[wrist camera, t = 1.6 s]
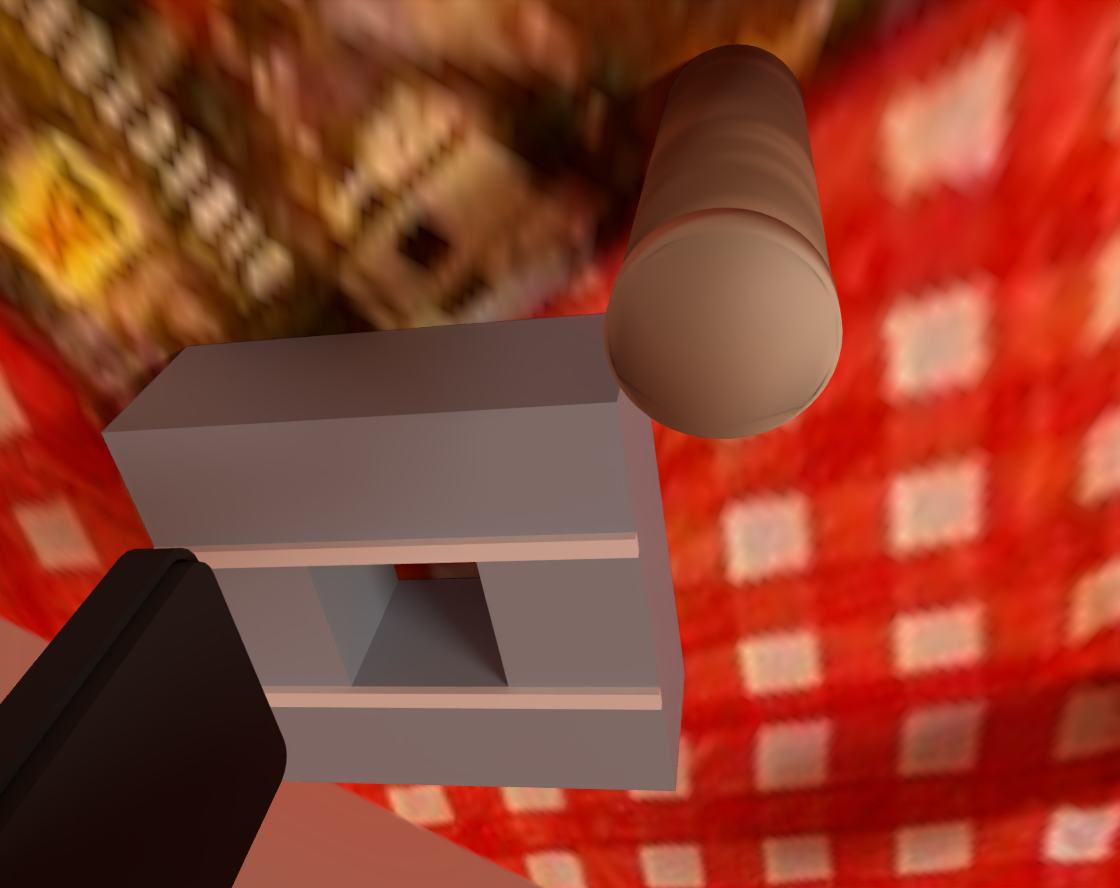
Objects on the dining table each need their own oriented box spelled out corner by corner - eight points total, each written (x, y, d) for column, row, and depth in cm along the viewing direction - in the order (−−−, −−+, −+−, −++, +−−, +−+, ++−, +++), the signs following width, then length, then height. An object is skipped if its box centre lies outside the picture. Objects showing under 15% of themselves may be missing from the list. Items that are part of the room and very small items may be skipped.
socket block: (636, 310, 28) (615, 408, 24) (684, 673, 36) (674, 798, 31) (186, 346, 31) (95, 438, 27) (316, 673, 39) (260, 787, 34)
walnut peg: (803, 32, 24) (840, 215, 14) (808, 178, 26) (843, 432, 16) (654, 52, 24) (587, 239, 15) (669, 192, 26) (619, 444, 16)
